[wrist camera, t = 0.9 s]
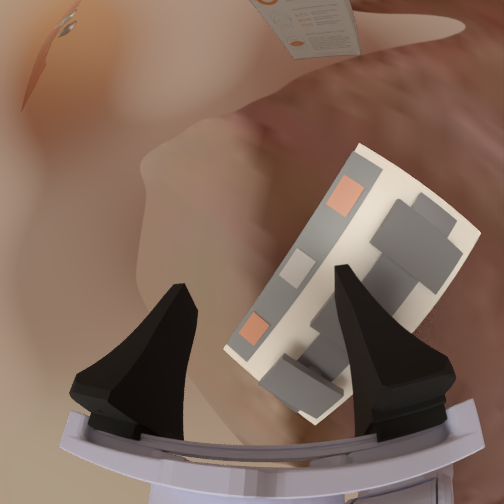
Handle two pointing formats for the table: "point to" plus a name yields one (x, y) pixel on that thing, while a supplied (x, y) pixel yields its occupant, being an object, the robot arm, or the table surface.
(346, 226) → the switch panel
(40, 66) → the table surface
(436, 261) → the switch
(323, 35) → the small box
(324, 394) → the switch
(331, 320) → the switch
